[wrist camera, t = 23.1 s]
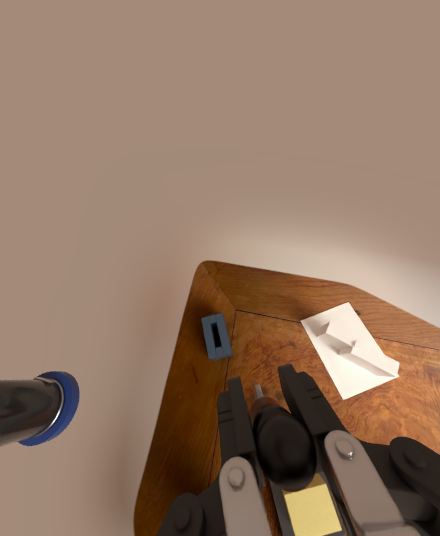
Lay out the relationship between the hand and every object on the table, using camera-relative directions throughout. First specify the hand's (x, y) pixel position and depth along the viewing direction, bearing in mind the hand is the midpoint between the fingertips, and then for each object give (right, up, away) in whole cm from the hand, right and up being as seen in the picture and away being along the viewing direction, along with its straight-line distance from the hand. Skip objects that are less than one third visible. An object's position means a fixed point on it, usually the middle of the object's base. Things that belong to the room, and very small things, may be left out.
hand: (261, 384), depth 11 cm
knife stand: (-2, -9, +32) cm, 33 cm away
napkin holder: (+22, -9, +29) cm, 38 cm away
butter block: (+10, -27, +19) cm, 35 cm away
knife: (+2, -8, +12) cm, 15 cm away
